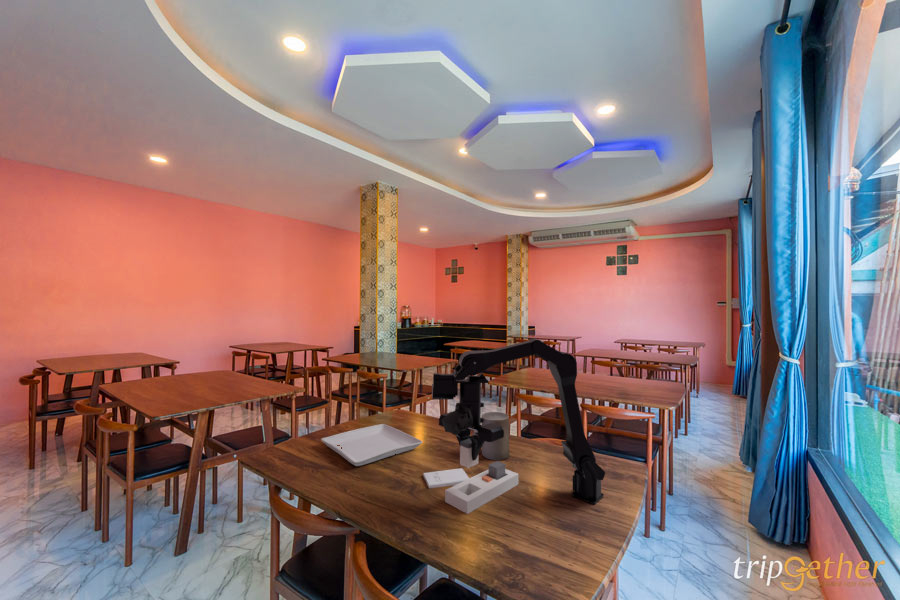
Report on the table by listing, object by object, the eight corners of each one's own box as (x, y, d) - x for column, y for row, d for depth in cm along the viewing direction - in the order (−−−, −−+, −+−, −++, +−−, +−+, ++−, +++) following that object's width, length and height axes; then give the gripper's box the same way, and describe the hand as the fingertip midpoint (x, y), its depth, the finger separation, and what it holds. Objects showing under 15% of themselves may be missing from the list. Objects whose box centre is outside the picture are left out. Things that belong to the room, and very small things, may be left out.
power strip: (518, 484, 104) (518, 471, 105) (467, 514, 89) (467, 499, 89) (496, 475, 110) (496, 463, 110) (444, 501, 95) (445, 487, 95)
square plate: (319, 448, 132) (319, 437, 132) (383, 431, 150) (383, 422, 150) (354, 473, 112) (354, 460, 112) (423, 450, 130) (423, 440, 130)
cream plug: (478, 463, 96) (478, 440, 96) (468, 468, 93) (468, 444, 93) (470, 460, 98) (470, 438, 98) (459, 464, 95) (460, 441, 95)
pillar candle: (510, 451, 129) (510, 409, 130) (508, 462, 120) (507, 416, 120) (483, 448, 131) (483, 407, 132) (479, 459, 122) (478, 414, 123)
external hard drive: (470, 485, 105) (428, 490, 102) (461, 472, 113) (423, 477, 110) (470, 479, 105) (428, 484, 102) (461, 467, 113) (423, 472, 110)
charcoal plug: (505, 485, 104) (505, 464, 104) (496, 489, 101) (496, 468, 101) (497, 481, 106) (497, 460, 106) (488, 485, 103) (488, 464, 104)
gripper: (424, 397, 97) (423, 456, 96) (476, 412, 84) (475, 480, 83) (453, 391, 105) (452, 445, 104) (505, 404, 92) (504, 465, 91)
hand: (469, 458), depth 96 cm, fingers closed on cream plug, 3 cm apart
